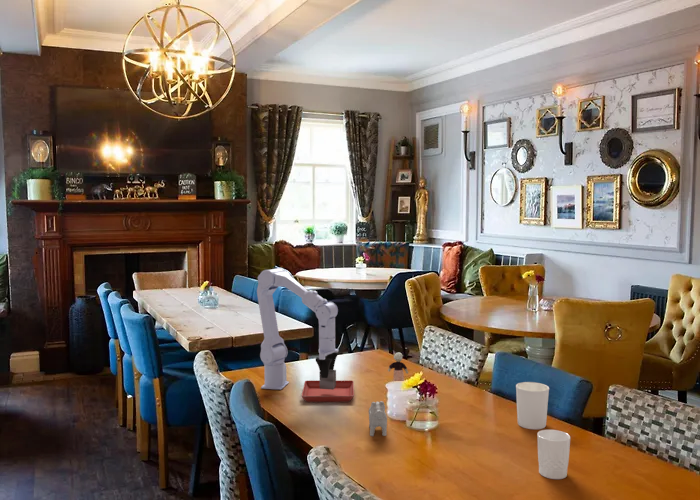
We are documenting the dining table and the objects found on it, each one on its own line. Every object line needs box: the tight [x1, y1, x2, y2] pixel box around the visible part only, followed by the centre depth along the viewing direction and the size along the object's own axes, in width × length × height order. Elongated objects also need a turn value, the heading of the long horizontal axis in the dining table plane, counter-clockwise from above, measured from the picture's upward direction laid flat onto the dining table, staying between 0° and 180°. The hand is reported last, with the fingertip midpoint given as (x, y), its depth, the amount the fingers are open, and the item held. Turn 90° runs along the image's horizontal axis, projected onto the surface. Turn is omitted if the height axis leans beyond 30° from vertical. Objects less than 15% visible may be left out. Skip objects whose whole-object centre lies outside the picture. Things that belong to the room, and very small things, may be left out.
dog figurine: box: [368, 400, 388, 437], centre depth 187 cm, size 5×13×11 cm, turn 2°
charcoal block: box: [319, 369, 337, 390], centre depth 223 cm, size 4×5×6 cm
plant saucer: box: [301, 380, 355, 403], centre depth 223 cm, size 18×18×3 cm
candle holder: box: [515, 381, 550, 430], centre depth 193 cm, size 10×10×12 cm
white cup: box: [536, 429, 571, 480], centre depth 158 cm, size 8×8×10 cm
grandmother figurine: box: [387, 352, 409, 382], centre depth 234 cm, size 8×4×13 cm, turn 84°
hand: (327, 374), depth 223 cm, fingers open, 7 cm apart
